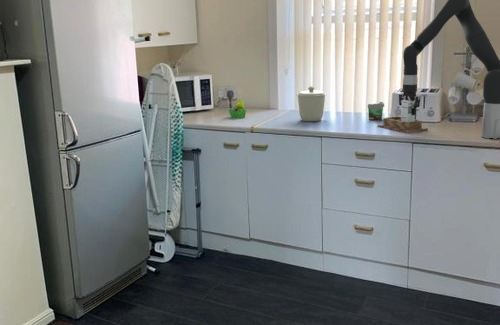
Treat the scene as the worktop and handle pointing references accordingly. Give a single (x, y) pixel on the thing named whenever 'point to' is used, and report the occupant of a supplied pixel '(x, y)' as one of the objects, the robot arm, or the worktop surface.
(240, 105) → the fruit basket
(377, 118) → the food container
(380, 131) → the worktop surface
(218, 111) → the worktop surface
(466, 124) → the worktop surface
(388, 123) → the walnut socket rail
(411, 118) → the syrup box
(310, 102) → the canister
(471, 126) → the worktop surface
